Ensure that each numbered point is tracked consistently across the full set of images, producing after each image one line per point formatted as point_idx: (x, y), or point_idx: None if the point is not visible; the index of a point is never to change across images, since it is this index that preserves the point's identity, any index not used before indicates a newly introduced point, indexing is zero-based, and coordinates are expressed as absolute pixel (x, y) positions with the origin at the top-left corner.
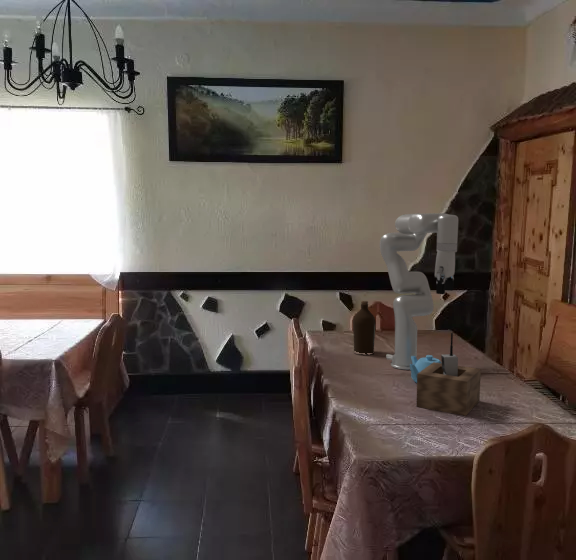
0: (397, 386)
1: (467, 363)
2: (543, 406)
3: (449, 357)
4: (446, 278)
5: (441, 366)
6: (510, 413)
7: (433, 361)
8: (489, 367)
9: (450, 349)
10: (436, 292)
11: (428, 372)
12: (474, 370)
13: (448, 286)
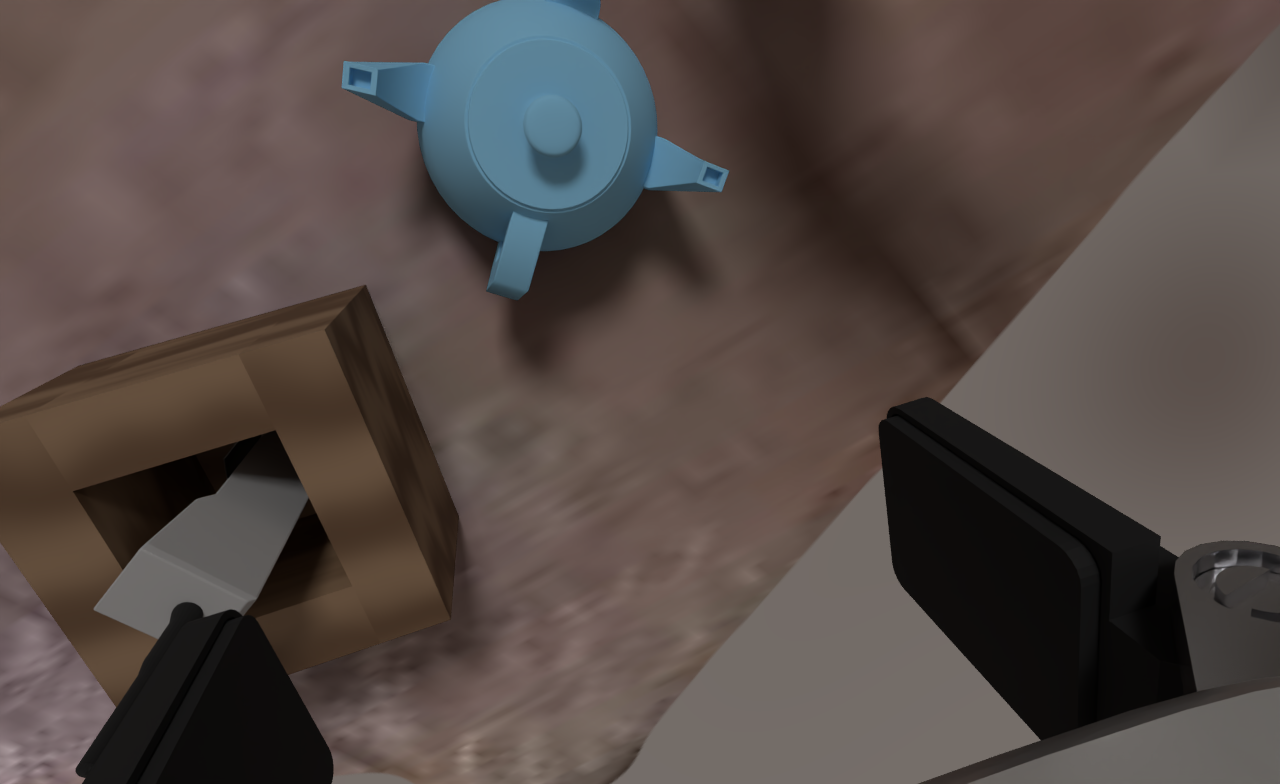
0: (277, 34)
1: (1033, 93)
2: (611, 698)
3: (139, 628)
4: (1181, 620)
5: (279, 435)
6: (422, 676)
7: (537, 177)
8: (1021, 237)
9: (153, 647)
10: (180, 641)
11: (50, 472)
12: (387, 617)
13: (942, 544)
